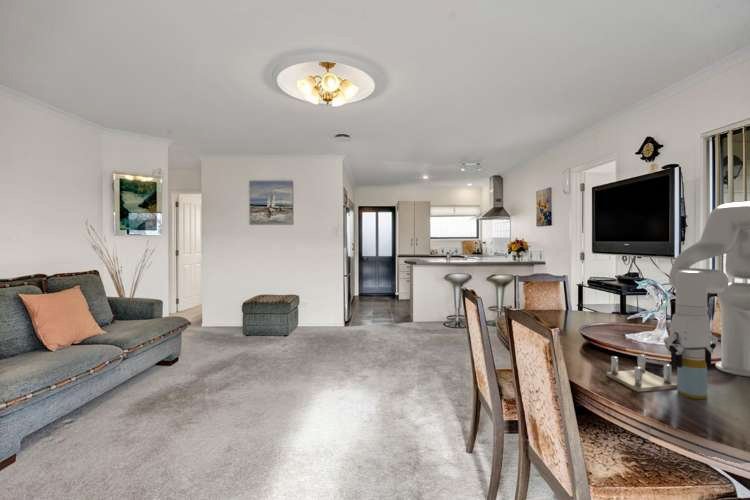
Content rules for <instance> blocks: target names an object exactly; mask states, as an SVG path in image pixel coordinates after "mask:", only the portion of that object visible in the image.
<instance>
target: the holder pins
mask: <svg viewBox="0 0 750 500" xmlns="http://www.w3.org/2000/svg"><path fill="white" fill-rule="evenodd" d="M637 356H638V357H637V361H639V366H638V365H637V366H634V369H633V370H634V374H635V386H638V387H642V372H643V373H645V372H646V371H645V367H646V362H645V358H646V354H642V353H639V354H638V355H637ZM610 358H611V359H610V362H611V372H612V374H614V375H618V371H619V357H618V356H615V355H612V356H611V357H610ZM663 369H664V375H663V379H664V383H666V384H672V382H673V381H672V364H670V363H669V364H664V365H663Z"/></svg>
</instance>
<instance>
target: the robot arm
mask: <svg viewBox="0 0 750 500" xmlns="http://www.w3.org/2000/svg"><path fill="white" fill-rule="evenodd" d="M722 255H725V264H724V265H725V267H724V268H725V272H723V271H722V270H718V269H711V268H696V267H695V268H694V267H693V268H692V266H693V265H695V264H696V263H699V262H701V261H705V260H708V259H711V258H715V257H716V258H717V257H719V256H722ZM729 277H730V278H733V279H739V280H749V281H750V201H743V202H742V201H741V202H730V203H724V204H720V205H718V206H717V207H716V208H714V209H712V211H710V213H709V215H708V218H707V221H706V223H705V226H704V228H703V231H702V233H701V237H700V240H699V241H697V242H695V243H693V244H692V245H690V246H688V247H687V248H686V249H684V250H683V251H681V252H680V253H679V254H678V255H677V256H676V257H675V259H674V261H673V263H672V266H671V268H670V272H669V276H668V282H669V285H670V286H671V287H672V288H673V289H675V313H673V314H672V318H671V320H670V328H669V336H666V337H665V338H664V339H663V342H664V345H665V348H666V349H667V350H668V353H670V365H671V366H674V367H675V368H676V367H679V368H681V367H682V355H681V354H680V353H681V352H682V351H683V349H684V348H704V349H705V361H706V363H707V367H712V354H713V353H714V349H716V347H717V343H718V341H719V338H718V337H717V336H715V335H713V334H712V330H711V322H710V318H709V315H708V311H709V307H708V296H709V295H708V294H717V299H718V304H719V309H720V339H721V340H720V341H721V342H720V343H721V345H720V349H721V350H720V351H721V352H720V353H721V355H720V356H721V357H720V358H721V359H720V360H721V361H717V362H716V363H715V367H716V369H718V370H720V371H721V372H725V373H728V374H732V375H735V376H741V377H750V283H749V282H729Z"/></svg>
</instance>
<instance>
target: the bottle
mask: <svg viewBox="0 0 750 500" xmlns="http://www.w3.org/2000/svg"><path fill="white" fill-rule="evenodd" d="M680 354H681V355H682V367H681V368H679V367H677V368H676V369H677V372H676V373H677V378H676V379H677V385H678V388H677V392H678V393H679V394H680V395H681V396H684V397H686V398H688V397H689V399H693V400H704V399H706V398H707V397H708V366H707V363H706V361H705V349H704V348H684V349H683V351H682V352H681V353H680Z"/></svg>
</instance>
